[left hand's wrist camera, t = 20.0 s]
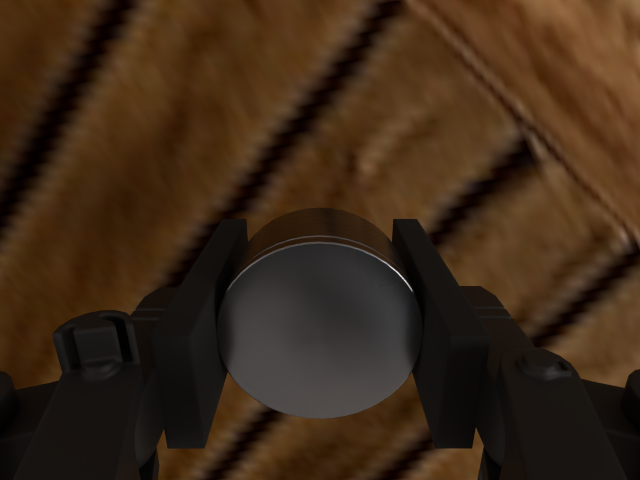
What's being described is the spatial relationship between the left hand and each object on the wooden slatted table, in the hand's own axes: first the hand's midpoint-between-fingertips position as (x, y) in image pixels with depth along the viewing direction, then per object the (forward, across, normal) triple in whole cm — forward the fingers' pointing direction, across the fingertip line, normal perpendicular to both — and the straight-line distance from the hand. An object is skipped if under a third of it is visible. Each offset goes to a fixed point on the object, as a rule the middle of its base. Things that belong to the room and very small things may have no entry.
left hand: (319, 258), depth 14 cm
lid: (-4, 0, 0) cm, 4 cm away
